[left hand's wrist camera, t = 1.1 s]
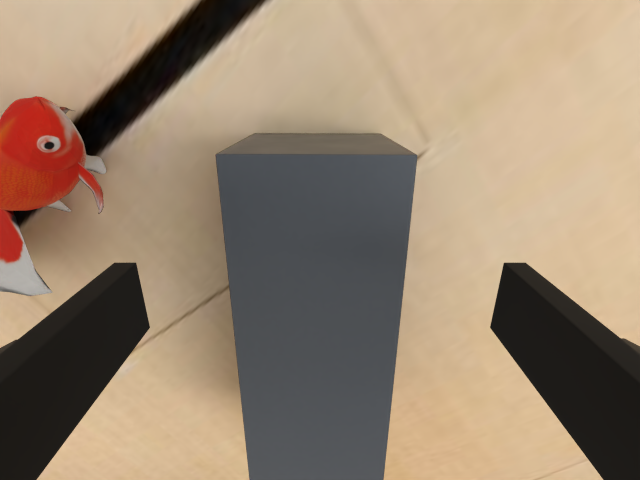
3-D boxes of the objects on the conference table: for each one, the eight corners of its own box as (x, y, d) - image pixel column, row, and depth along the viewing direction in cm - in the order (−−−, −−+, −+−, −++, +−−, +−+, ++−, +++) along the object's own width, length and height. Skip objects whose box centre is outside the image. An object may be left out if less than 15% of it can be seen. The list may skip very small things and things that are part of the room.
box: (253, 133, 24) (215, 154, 15) (381, 133, 24) (417, 154, 15) (270, 393, 32) (251, 503, 24) (364, 393, 33) (381, 504, 24)
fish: (188, 235, 22) (-31, 294, 13) (88, 288, 31) (-79, 343, 22) (119, 69, 21) (-148, 26, 13) (39, 172, 30) (-149, 185, 22)
